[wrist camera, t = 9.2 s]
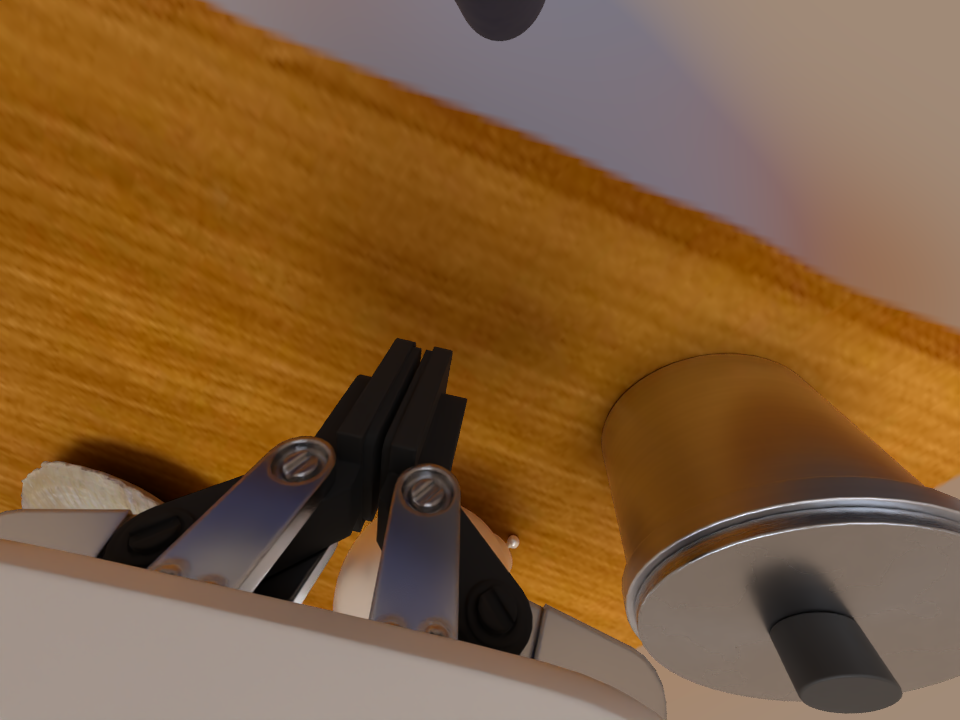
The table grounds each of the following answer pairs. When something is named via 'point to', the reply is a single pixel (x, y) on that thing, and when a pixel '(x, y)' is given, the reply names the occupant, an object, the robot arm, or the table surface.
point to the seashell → (81, 490)
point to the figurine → (365, 559)
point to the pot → (778, 541)
